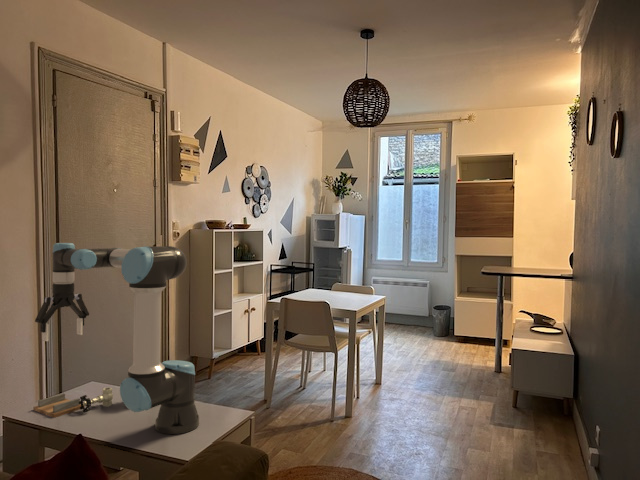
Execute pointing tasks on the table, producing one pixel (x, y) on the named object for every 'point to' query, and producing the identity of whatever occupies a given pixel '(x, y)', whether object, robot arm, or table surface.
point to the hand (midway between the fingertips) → (63, 337)
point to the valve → (97, 399)
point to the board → (57, 405)
